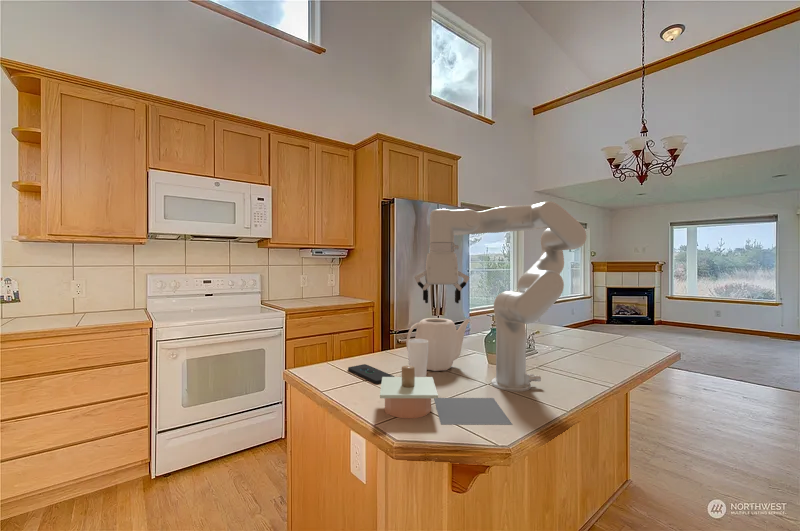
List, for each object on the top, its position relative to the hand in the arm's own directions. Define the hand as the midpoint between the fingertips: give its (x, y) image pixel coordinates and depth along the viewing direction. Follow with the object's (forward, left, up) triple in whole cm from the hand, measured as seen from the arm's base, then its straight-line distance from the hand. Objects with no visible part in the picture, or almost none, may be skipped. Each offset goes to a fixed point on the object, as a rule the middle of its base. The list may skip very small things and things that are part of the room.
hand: (441, 302), depth 114 cm
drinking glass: (+7, -6, -28) cm, 30 cm away
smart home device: (+24, -18, -29) cm, 41 cm away
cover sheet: (+11, +14, -22) cm, 28 cm away
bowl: (+11, +14, -28) cm, 33 cm away
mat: (-6, +15, -28) cm, 33 cm away
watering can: (-2, -27, -28) cm, 40 cm away
